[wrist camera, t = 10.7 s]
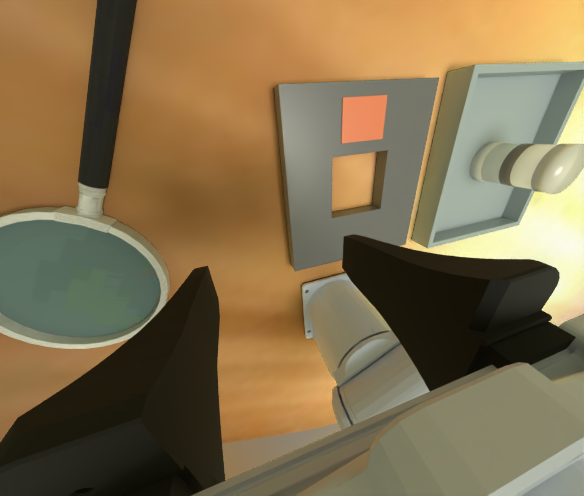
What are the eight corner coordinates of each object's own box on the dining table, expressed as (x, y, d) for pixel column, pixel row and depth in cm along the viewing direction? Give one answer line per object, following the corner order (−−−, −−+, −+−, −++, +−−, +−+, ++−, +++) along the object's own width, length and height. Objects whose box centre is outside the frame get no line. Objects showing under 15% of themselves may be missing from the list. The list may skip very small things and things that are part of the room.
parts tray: (498, 218, 31) (518, 225, 29) (411, 239, 28) (427, 248, 26) (560, 68, 23) (595, 61, 21) (447, 72, 20) (475, 64, 18)
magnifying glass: (254, 5, 15) (258, -13, 13) (155, 338, 24) (151, 353, 22) (-56, -242, 9) (-122, -332, 7) (-23, 326, 18) (-48, 346, 17)
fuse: (491, 177, 26) (570, 190, 21) (464, 183, 26) (539, 197, 20) (505, 139, 24) (597, 141, 18) (476, 143, 24) (564, 146, 18)
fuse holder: (396, 239, 27) (406, 244, 26) (290, 264, 24) (295, 271, 23) (424, 81, 19) (440, 77, 18) (273, 88, 16) (278, 84, 15)
